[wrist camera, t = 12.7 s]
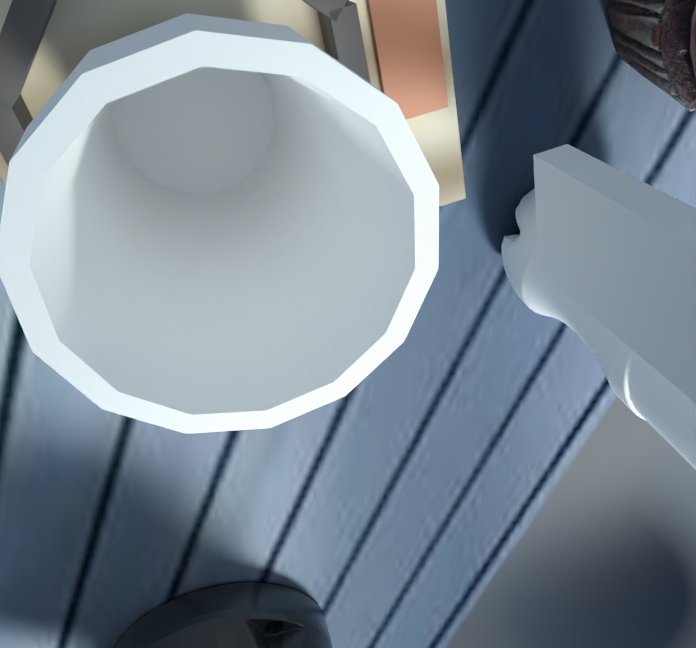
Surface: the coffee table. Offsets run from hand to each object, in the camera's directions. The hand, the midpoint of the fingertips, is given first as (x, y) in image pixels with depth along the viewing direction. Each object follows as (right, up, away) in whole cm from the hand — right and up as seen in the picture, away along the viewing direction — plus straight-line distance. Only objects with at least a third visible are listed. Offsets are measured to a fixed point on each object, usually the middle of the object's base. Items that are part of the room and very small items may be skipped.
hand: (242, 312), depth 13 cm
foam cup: (-4, +8, +12) cm, 15 cm away
